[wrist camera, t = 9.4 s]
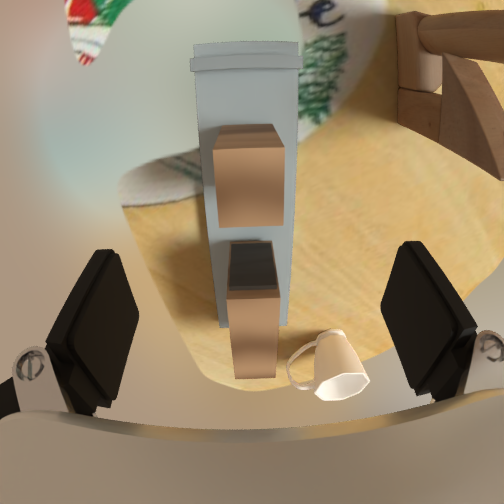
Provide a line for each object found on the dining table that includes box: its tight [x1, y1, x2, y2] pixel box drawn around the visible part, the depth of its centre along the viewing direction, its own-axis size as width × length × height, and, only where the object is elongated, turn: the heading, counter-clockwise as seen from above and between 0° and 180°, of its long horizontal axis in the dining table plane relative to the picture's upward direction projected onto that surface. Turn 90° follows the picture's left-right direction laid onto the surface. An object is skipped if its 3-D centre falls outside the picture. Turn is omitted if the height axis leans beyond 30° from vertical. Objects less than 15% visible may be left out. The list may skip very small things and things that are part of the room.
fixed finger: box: [226, 241, 281, 379], centre depth 29 cm, size 11×4×8 cm, turn 1°
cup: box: [286, 329, 370, 400], centre depth 36 cm, size 7×10×8 cm
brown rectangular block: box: [213, 124, 285, 228], centre depth 21 cm, size 5×4×8 cm
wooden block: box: [395, 10, 504, 181], centre depth 13 cm, size 4×11×18 cm, turn 5°
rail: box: [190, 41, 303, 328], centre depth 27 cm, size 30×8×3 cm, turn 1°
